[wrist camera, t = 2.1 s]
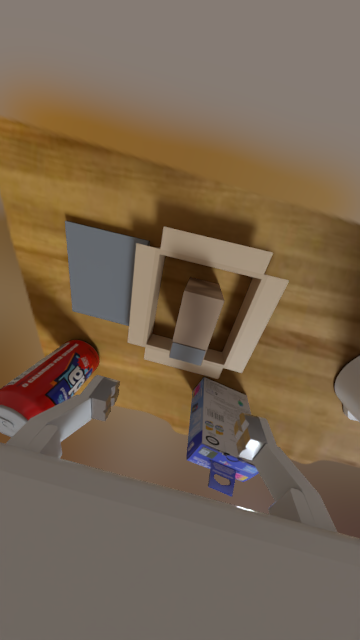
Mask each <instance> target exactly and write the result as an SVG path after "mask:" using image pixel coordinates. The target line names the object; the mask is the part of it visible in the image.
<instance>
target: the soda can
mask: <svg viewBox="0 0 360 640" xmlns="http://www.w3.org/2000/svg"><path fill="white" fill-rule="evenodd" d="M98 365H99V356H98V353H97V352H96V350H95V349H94V348H93V347H92V346H91V345H89V344H88V343H86V342H84V341H81V340H70V341H68V342H66V343H65V344H63V345H62V346H60V347H59V348H57V349H56V350H55V351H53V352H52V353H50V354H49V355H48V356H46V357H45V358H43V359H42V360H40V361H39V362H38V363H36V364H35V365H33V366H32V367H31V368H29V369H28V370H27V371H25V372H24V373H22V374H21V375H19V376H18V377H16V378H15V379H14V380H12V381H11V382H9V383H8V384H7V385H5V386H4V387H3V388H1V389H0V432H1V433H3V434H5V435H8V436H10V437H13V436H14V435H15V434H16V433H17V432H18V431H19V429H20V428H21V427H22V426H23V425H24V424H25V423H26V422H27V421H28V420H29V419H30V418H32V417H34V416H36V415H38V414H40V413H42V412H44V411H46V410H48V409H50V408H52V407H54V406H56V405H58V404H60V403H62V402H64V401H66V400H68V399H70V398H71V397H72V396H73V395H74V394H75V393H76V391H77V390H78V389H79V388H80V387H81V386H82V385H83V383H84V382H85V381H86V380H87V379H88V378H89V377H90V375H91V374H92V373H93V372H94V371H95V370H96V368H97V367H98Z"/></svg>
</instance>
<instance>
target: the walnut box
mask: <svg viewBox="0 0 360 640" xmlns="http://www.w3.org/2000/svg"><path fill="white" fill-rule="evenodd" d="M223 303H224V298H223V295H222V292H221V289H220V286H219V284H216V283H212V282H208V281H204V280H200V279H196V278H192V277H190V279H189V281H188V283H187V286H186V288H185V290H184V293H183V298H182V302H181V306H180V311H179V315H178V319H177V323H176V328H175V332H174V336H173V341H172V345H171V349H170V353H169V356H170V357H169V358H173V359H177V360H181V361H184V362H188V363H192V364H195V365H199V366H201V365H202V362H203V360H204V357H205V354H206V351H207V348H208V346H209V343H210V340H211V337H212V334H213V331H214V329H215V326H216V323H217V320H218V317H219V315H220V312H221V309H222V306H223Z"/></svg>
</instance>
